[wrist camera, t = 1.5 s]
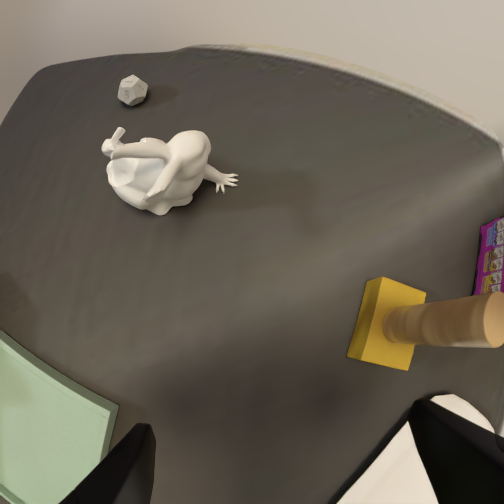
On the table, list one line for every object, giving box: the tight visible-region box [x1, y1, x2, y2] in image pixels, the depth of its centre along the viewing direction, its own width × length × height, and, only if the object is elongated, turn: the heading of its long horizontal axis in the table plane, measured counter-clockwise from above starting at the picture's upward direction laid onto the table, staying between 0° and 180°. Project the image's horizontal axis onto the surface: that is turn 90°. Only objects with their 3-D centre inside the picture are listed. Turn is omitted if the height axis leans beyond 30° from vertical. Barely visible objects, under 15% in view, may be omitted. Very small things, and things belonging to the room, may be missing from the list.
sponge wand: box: [347, 277, 504, 371], centre depth 17 cm, size 7×5×14 cm
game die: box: [118, 75, 148, 106], centre depth 26 cm, size 4×4×3 cm
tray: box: [0, 330, 119, 504], centre depth 16 cm, size 24×16×2 cm, turn 162°
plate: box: [336, 394, 494, 504], centre depth 19 cm, size 22×22×2 cm
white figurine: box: [102, 127, 238, 215], centre depth 20 cm, size 12×8×10 cm, turn 75°
